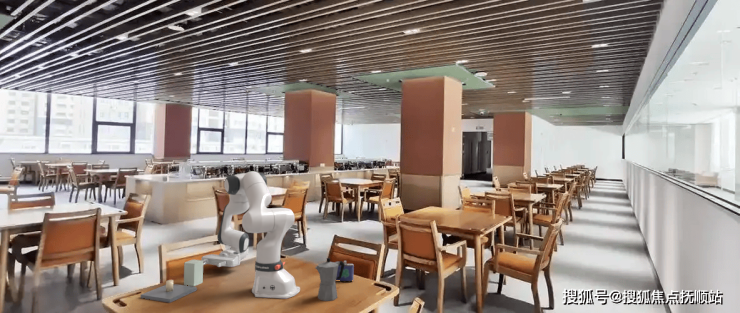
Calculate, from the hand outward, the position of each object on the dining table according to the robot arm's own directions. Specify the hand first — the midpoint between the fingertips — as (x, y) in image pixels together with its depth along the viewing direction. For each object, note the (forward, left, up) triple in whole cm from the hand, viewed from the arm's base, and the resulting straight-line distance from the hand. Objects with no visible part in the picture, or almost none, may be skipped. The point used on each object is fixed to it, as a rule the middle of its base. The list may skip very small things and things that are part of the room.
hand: (210, 264), depth 197 cm
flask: (-69, -17, -7) cm, 71 cm away
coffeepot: (-70, +6, -7) cm, 71 cm away
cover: (0, +12, -6) cm, 14 cm away
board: (0, +27, -6) cm, 28 cm away
